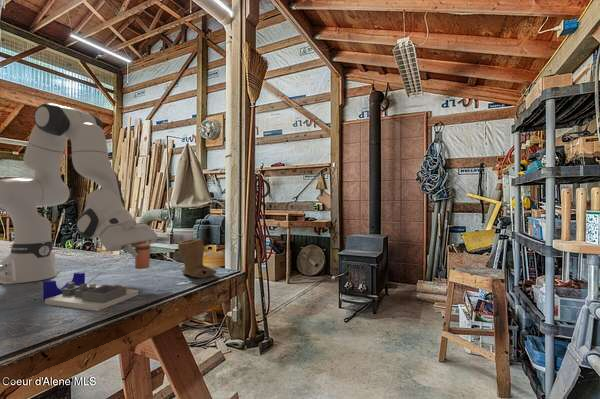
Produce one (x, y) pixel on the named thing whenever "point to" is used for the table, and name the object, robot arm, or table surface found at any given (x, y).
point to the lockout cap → (142, 256)
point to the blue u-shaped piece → (52, 289)
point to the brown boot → (194, 258)
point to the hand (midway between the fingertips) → (143, 254)
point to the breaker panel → (91, 296)
